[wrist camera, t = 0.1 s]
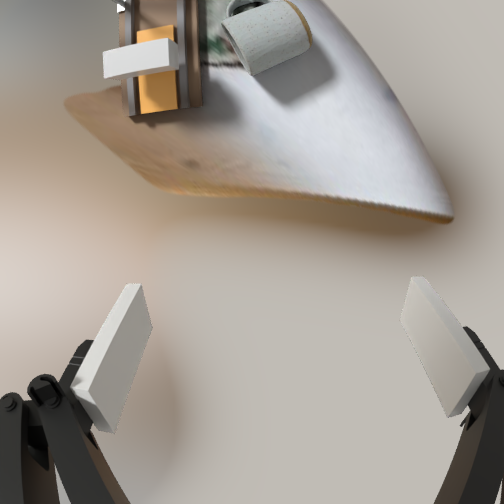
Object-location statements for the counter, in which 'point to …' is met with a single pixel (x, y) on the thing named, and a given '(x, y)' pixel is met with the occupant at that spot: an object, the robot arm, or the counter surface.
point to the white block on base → (148, 67)
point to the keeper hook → (120, 5)
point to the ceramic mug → (266, 33)
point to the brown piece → (186, 36)
